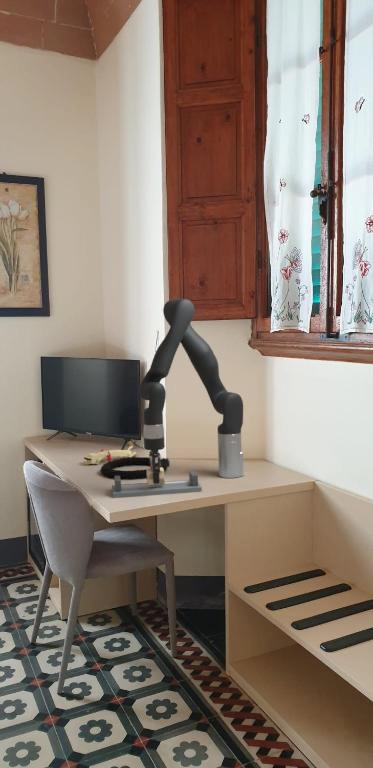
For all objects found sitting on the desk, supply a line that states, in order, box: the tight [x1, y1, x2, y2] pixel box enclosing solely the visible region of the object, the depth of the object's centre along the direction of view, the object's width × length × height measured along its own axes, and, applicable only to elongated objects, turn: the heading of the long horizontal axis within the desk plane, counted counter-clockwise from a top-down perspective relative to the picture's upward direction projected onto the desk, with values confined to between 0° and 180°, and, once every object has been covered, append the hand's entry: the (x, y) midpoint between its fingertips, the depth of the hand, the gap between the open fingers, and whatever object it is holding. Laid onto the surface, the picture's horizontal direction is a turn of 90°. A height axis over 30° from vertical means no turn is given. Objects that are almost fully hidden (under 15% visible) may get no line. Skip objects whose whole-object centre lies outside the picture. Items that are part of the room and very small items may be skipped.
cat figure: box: [82, 440, 138, 465], centre depth 291 cm, size 10×9×25 cm
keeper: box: [146, 467, 165, 485], centre depth 239 cm, size 6×5×7 cm
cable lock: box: [100, 456, 171, 480], centre depth 271 cm, size 28×4×30 cm
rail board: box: [111, 469, 203, 499], centre depth 240 cm, size 32×12×6 cm, turn 98°
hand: (155, 481), depth 240 cm, fingers closed on keeper, 5 cm apart
